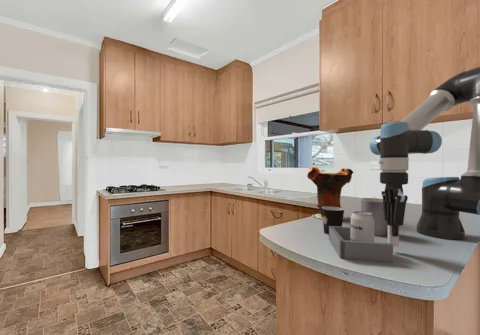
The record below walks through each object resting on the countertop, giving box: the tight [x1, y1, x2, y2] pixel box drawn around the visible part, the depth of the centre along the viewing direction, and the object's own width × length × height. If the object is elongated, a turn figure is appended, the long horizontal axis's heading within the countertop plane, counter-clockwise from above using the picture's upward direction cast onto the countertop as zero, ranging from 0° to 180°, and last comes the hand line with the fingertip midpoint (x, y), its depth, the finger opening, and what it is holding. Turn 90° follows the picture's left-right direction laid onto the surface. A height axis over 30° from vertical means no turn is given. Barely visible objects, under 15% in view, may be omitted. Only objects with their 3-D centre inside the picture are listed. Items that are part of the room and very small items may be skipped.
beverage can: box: [350, 210, 375, 242], centre depth 77 cm, size 7×7×12 cm
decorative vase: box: [307, 165, 354, 221], centre depth 126 cm, size 21×23×28 cm
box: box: [328, 226, 394, 263], centre depth 77 cm, size 14×18×5 cm
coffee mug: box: [321, 207, 345, 235], centre depth 98 cm, size 12×9×10 cm
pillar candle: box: [360, 196, 388, 237], centre depth 98 cm, size 10×10×15 cm
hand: (393, 245), depth 76 cm, fingers closed
